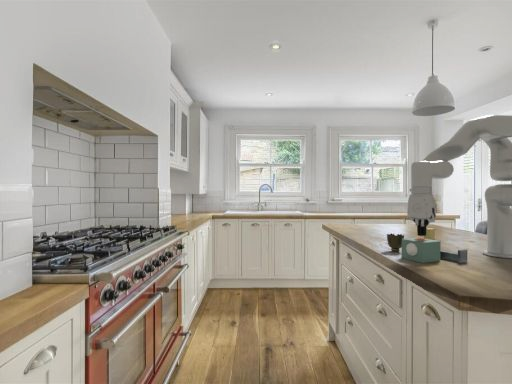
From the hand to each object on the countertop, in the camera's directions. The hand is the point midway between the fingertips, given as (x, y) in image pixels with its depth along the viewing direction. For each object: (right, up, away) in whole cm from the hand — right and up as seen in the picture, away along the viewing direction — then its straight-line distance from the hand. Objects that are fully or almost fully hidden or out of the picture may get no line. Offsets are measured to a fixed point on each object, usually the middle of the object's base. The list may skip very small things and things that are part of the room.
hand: (421, 235), depth 123 cm
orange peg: (-1, -9, 0) cm, 9 cm away
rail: (+10, -10, +3) cm, 14 cm away
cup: (-3, -10, +16) cm, 19 cm away
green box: (-1, -10, 0) cm, 10 cm away
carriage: (+8, -10, +8) cm, 15 cm away
